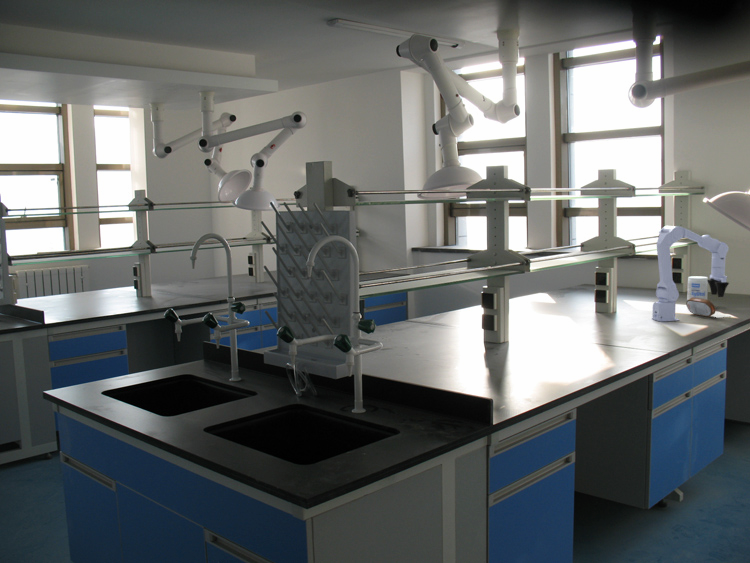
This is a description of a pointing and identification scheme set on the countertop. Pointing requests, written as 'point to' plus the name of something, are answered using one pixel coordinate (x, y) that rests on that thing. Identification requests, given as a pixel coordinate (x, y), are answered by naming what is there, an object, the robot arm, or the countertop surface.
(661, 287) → the robot arm
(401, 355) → the countertop surface
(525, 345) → the countertop surface
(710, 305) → the tin
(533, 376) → the countertop surface
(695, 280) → the supplement tub
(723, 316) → the mat
